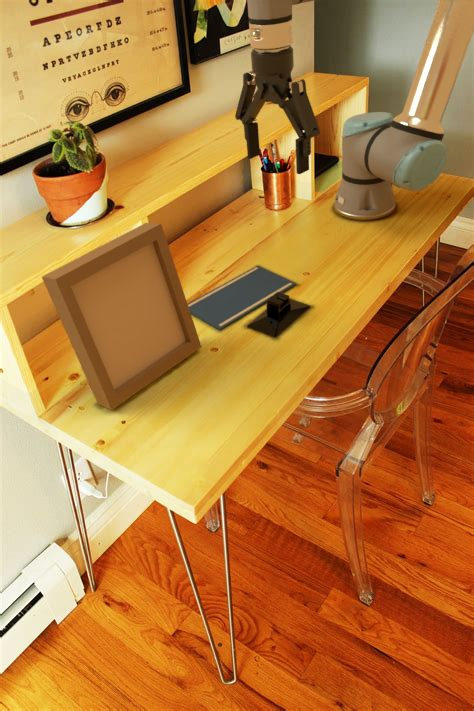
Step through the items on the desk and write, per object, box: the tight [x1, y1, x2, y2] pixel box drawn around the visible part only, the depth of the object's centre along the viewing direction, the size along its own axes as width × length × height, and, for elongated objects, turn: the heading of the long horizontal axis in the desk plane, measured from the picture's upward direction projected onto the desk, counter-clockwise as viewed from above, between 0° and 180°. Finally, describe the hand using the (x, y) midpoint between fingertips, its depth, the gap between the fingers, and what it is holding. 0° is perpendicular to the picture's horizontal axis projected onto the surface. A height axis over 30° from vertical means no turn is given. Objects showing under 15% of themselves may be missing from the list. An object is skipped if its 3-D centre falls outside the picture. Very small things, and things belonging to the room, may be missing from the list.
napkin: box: [187, 265, 297, 331], centre depth 133 cm, size 22×12×1 cm, turn 132°
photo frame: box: [41, 222, 202, 411], centre depth 110 cm, size 15×22×25 cm
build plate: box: [246, 292, 311, 339], centre depth 125 cm, size 12×7×5 cm, turn 142°
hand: (277, 164), depth 124 cm, fingers open, 13 cm apart
